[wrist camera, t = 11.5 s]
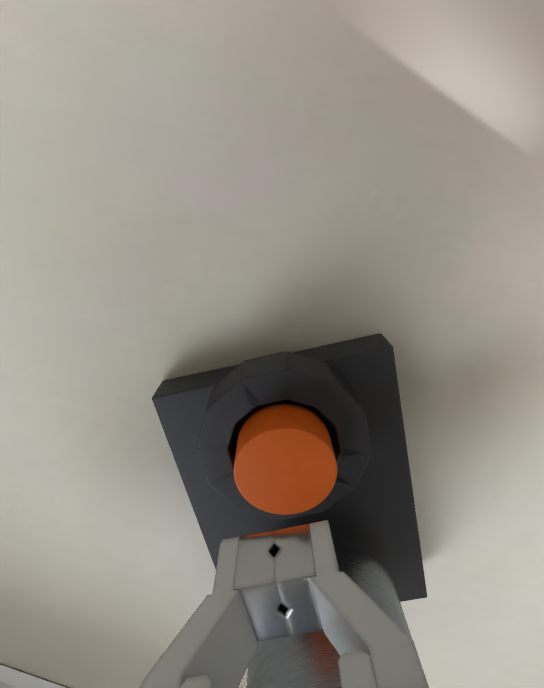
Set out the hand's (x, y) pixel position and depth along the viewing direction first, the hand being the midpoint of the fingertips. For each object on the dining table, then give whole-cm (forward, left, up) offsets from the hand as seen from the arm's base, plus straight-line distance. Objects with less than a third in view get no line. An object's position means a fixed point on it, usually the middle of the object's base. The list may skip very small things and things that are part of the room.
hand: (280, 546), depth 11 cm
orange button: (0, 0, -5) cm, 5 cm away
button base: (+4, 0, -8) cm, 9 cm away
